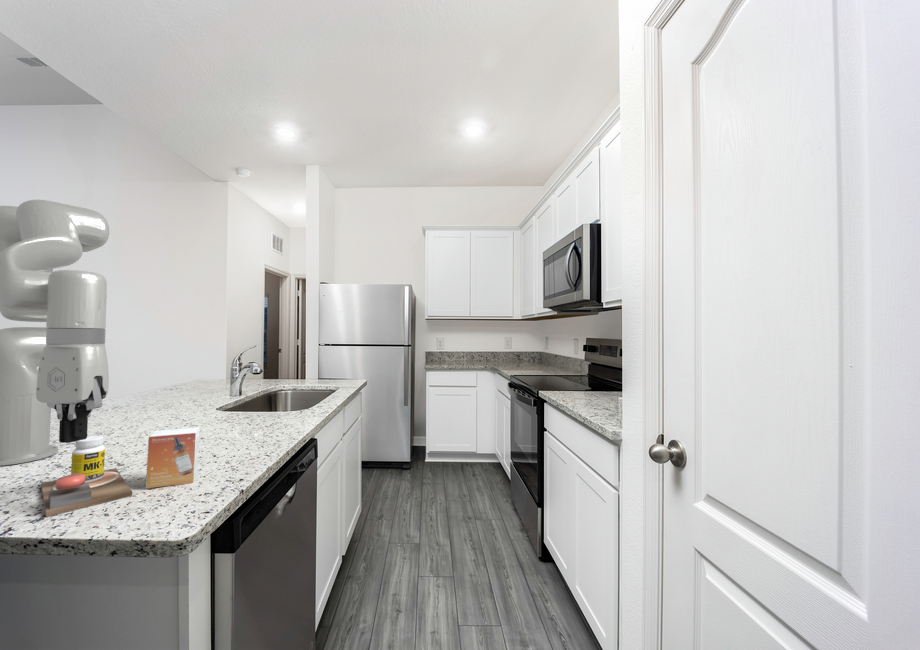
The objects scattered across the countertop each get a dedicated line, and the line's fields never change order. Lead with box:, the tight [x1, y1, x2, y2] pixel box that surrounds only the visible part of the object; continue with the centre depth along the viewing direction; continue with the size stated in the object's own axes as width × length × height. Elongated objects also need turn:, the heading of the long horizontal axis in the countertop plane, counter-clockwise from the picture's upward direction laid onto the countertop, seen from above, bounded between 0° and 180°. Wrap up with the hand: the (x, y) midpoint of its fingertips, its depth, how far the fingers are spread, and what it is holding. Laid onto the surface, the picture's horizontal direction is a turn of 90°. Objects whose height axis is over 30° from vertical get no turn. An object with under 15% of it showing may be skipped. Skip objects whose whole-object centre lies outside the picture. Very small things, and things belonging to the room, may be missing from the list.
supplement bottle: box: [70, 435, 106, 484], centre depth 75 cm, size 5×5×8 cm
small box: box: [145, 426, 201, 489], centre depth 78 cm, size 8×6×10 cm
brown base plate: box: [40, 467, 133, 518], centre depth 73 cm, size 18×11×2 cm, turn 50°
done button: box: [55, 474, 85, 490], centre depth 67 cm, size 4×4×1 cm
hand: (73, 440), depth 67 cm, fingers closed
